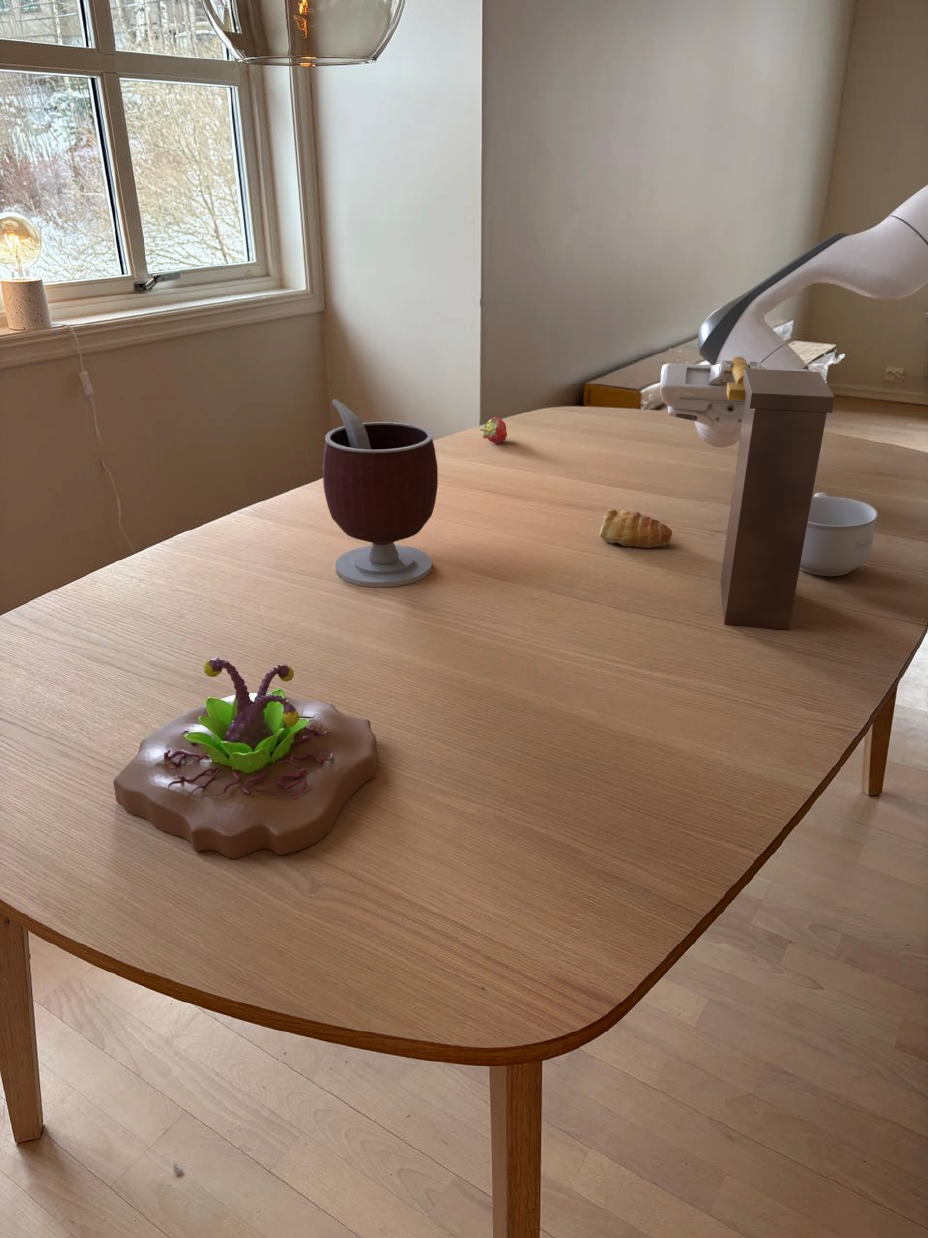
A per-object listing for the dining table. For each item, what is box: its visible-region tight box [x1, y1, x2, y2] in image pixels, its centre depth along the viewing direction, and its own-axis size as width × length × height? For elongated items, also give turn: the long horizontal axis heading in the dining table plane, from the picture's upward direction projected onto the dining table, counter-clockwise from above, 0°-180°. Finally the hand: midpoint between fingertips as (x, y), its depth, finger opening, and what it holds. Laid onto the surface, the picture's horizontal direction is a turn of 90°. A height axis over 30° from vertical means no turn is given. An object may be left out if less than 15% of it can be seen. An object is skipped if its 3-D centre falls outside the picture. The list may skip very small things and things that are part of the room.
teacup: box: [799, 492, 879, 577], centre depth 121 cm, size 14×11×8 cm
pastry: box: [598, 508, 673, 549], centre depth 129 cm, size 9×7×4 cm
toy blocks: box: [726, 357, 750, 400], centre depth 119 cm, size 4×22×2 cm, turn 168°
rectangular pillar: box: [720, 369, 836, 631], centre depth 106 cm, size 8×12×26 cm, turn 168°
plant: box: [113, 657, 378, 860], centre depth 78 cm, size 20×20×11 cm
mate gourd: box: [321, 398, 439, 588], centre depth 117 cm, size 16×14×20 cm
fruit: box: [479, 416, 508, 444], centre depth 171 cm, size 4×6×5 cm
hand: (740, 366), depth 124 cm, fingers closed on toy blocks, 2 cm apart
